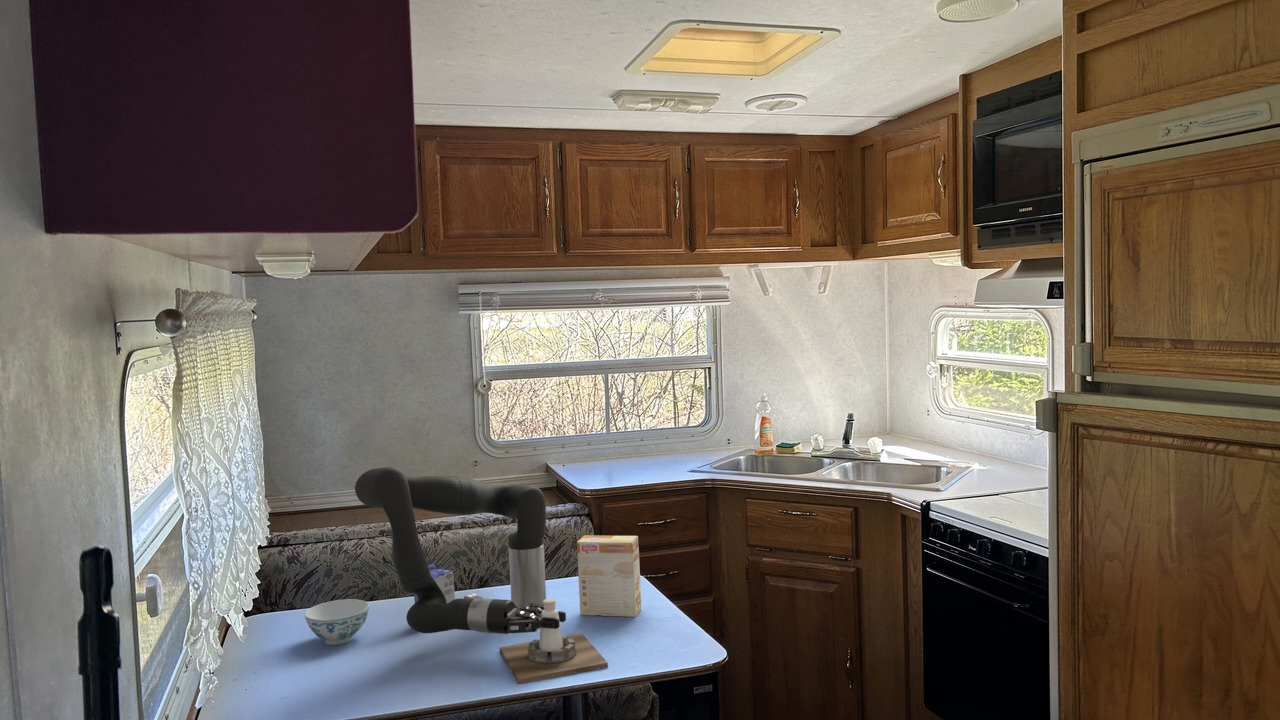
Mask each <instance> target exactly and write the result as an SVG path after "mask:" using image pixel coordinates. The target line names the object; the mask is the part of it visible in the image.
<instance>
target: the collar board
mask: <svg viewBox="0 0 1280 720" xmlns="http://www.w3.org/2000/svg"><path fill="white" fill-rule="evenodd" d="M562 641H563V647H562V648H561V649H558V650H553V651H551V652H547V651H544V650H541V649H540V648H539V645H540V639H535V638H534V639H533V640H531V641H529V642H523V643H517V644H516V643H515V644H510V645H505V646H500V647H499V652H500V654H501V656H502V657H503V660H504V661H505V662H506V665H507V667H508V668H509V670H510V669H511V670H510V671H512V672H511V673H512V675H513V676H515V677H514V678H516V679H515V680H516V682H517V683H518V684H519V683H520V684H525V683H531V682H536V681H541V680H545V679H552V678H556V677H563V676H567V675H573V674H577V673H578V672H579V673H582V672H583V671H584V672H589V671H594V670H593V669H595V670H598V669H597V668H600V669H604V668H603V667H606V668H608V667H609V662H608V661H607V660H606V659H605V658H604V656H602V654H601V653H600V652H599V651H598V649H597V648H595V646H594V645H593V644H592V643H591V642H590V641H589V640H588V638H587V636H586V635H585V634H583V632H581V633H575V634H570V635H568V634H567V635H562ZM588 670H589V671H588ZM584 672H583V673H584ZM562 675H563V676H562Z"/></svg>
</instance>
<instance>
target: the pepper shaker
mask: <svg viewBox="0 0 1280 720" xmlns="http://www.w3.org/2000/svg"><path fill="white" fill-rule="evenodd" d="M556 602H557V601H556V599H555V598H546V599H545V600H544V601H543V603H544V610H543V611H542V614H541V617H542V619H543V617H548V618H558V619H559V614H558V611H559V610H557V609H556ZM539 630H540V631H539V640H540V645H539V648H540V649H541V650H544V651H547V652H551V651H553V650H558V649H561V648H562V647H563V641H562V636H563V635H562V627H561V622H560V620H559V628H558V629H552V628H542V629H539Z"/></svg>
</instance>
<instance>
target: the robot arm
mask: <svg viewBox="0 0 1280 720" xmlns="http://www.w3.org/2000/svg"><path fill="white" fill-rule="evenodd" d="M354 492H355V495H356V497H357V499H358V500H359V501H360V502H361V504H362V505H364V506H366V507H368V508H371V509H383V511H384V513H385V514H386V517H387V519H388V521H389V524H390V528H391V529H390V530H391V535H392V542H391V543H392V547H391V551H392V552H391V553H392V561H393V565H394V568H395V571H396V574H397V577H398V580H399V582H400V585H401V588H402V589H403V591H404V592H405V593H407V594H414V593H415V594H416V596H417V598H418V601H417V602H416V603H415V602H414V604H412V606H411V607H410V608H409V609H408V610H407V613H406V623H407V624H408V626H409V627H410V629H412V630H413V631H415V632H417V633H421V634H435V633H441V632H448V631H452V630H461V631H473V632H478V633H485V634H486V633H487V634H501V635H509V634H522V633H526V634H527V633H536V632H538V630H540V629H542V628H552V629H558V628H559V620H560V623H565V622H566V620H567V613H566V612H565V611H563V610H562V611H560V610H557V611H558V614H559V619H558V618H548V617H543V619H542V617H541V614H542V611H543V610H544V603H543V601H544V600H545V599H547V590H546V589H547V588H546V587H547V586H546V570H545V568H546V566H545V547H544V546H545V545H544V537H545V534H546V529H547V525H546V524H547V521H546V520H547V517H546V516H547V508H546V507H547V506H546V499H545V495H544V493H543V491H542V490H541V489H540V488H539V487H537V486H533V485H526V484H519V483H518V484H517V483H514V484H492V483H491V484H489V483H485V482H482V481H479V480H476V479H472V478H467V477H461V476H453V475H452V476H451V475H428V476H425V475H424V476H410V475H409V476H408V475H405V473H404V472H403V471H402V470H400V469H399V468H397V467H393V466H387V467H385V466H384V467H377V468H372V469H369V470H367V471H365V472H363V473H362V474H361V475H360V476H359V477H358V478H357V480H356V482H355V485H354ZM414 509H416V510H422V511H426V512H433V513H439V514H445V515H446V514H448V515H457V516H467V515H468V516H469V515H475V514H479V513H480V514H482V513H487V514H488V513H489V514H494V515H498V516H502V517H506V518H510V519H513V520H517V525H516V526H517V528H516V529H517V530H516V532H513V533H511V534H510V535H509V536H508V538H507V542H508V543H507V544H508V547H507V548H508V561H509V562H508V564H509V581H510V583H509V584H510V599H501V598H499V599H498V598H483V599H464V598H455V599H454V600H452V601H451V602H449V603H447V602H446V598H445V596H444V594H443V592H442V591H441V589H440V588H439V586H438V585H437V583H436V582H435V580H434V579H433V578H432V576H431V574H430V569H429V568H430V567H429V568H428V565H429V564H428V563H427V559H426V557H425V554H424V551H423V548H422V545H421V542H420V538H419V534H418V528H417V523H416V518H415V513H414Z"/></svg>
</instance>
